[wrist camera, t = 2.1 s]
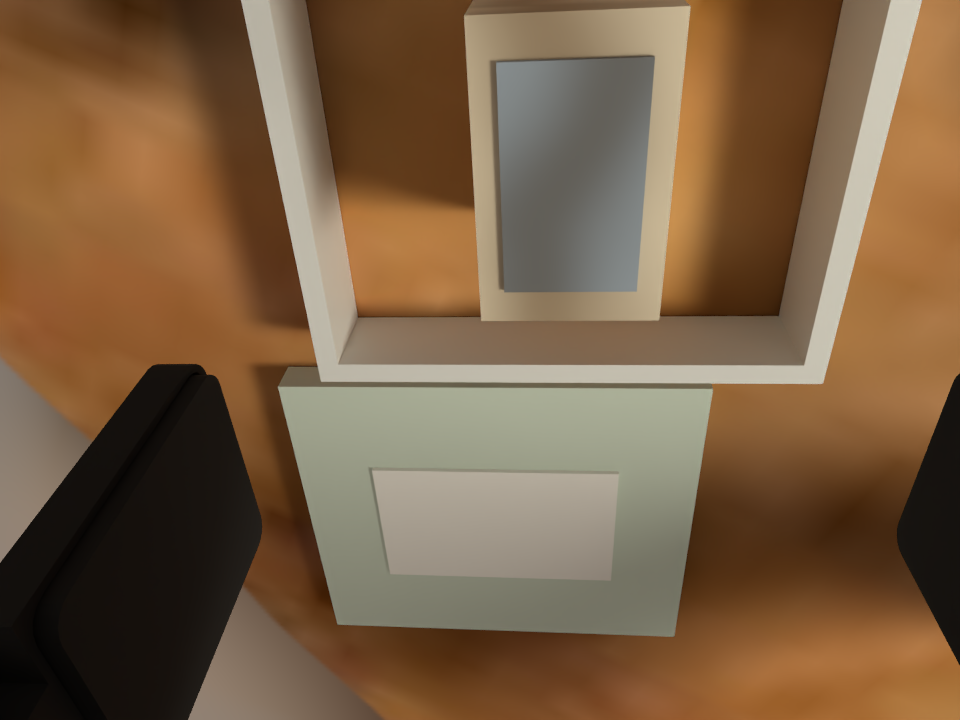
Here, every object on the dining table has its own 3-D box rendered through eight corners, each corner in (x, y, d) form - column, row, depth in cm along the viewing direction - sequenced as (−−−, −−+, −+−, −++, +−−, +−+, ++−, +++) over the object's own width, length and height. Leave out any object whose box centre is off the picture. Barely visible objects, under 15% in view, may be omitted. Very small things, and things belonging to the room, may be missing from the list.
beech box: (648, -34, 23) (691, 6, 16) (632, 210, 27) (659, 323, 20) (488, -26, 23) (463, 16, 16) (497, 212, 28) (481, 323, 21)
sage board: (706, 367, 31) (713, 391, 29) (670, 612, 39) (674, 639, 38) (288, 366, 32) (276, 389, 31) (343, 601, 41) (336, 627, 40)
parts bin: (931, -276, 19) (1000, -303, 16) (795, 333, 29) (823, 384, 26) (240, -225, 21) (191, -240, 18) (342, 333, 31) (320, 381, 28)
